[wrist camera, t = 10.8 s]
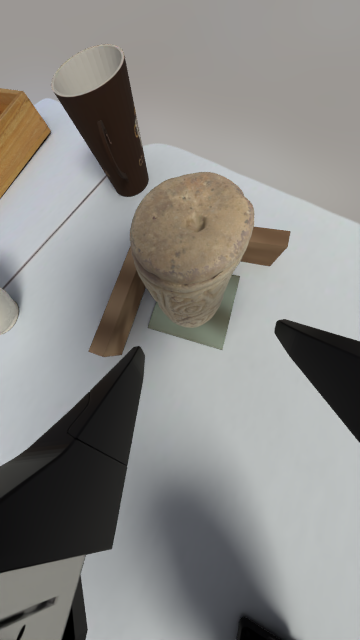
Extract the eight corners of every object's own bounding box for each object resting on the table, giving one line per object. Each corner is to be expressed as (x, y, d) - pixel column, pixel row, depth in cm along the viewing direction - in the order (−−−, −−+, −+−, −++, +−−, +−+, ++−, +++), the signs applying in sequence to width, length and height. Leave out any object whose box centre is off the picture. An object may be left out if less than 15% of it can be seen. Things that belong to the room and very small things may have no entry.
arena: (243, 397, 15) (256, 412, 11) (108, 350, 18) (88, 351, 15) (272, 253, 18) (290, 231, 14) (152, 234, 21) (143, 213, 17)
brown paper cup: (118, 164, 25) (68, 50, 15) (159, 164, 24) (134, 38, 14) (98, 214, 23) (27, 119, 14) (142, 217, 22) (98, 114, 12)
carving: (227, 287, 17) (291, 162, 6) (204, 339, 16) (223, 322, 5) (184, 271, 18) (161, 143, 7) (160, 319, 17) (87, 266, 6)
